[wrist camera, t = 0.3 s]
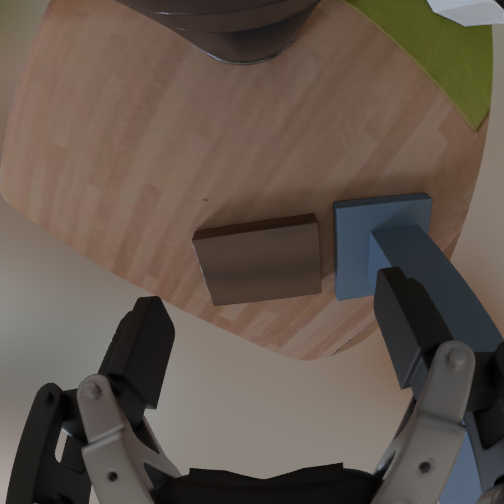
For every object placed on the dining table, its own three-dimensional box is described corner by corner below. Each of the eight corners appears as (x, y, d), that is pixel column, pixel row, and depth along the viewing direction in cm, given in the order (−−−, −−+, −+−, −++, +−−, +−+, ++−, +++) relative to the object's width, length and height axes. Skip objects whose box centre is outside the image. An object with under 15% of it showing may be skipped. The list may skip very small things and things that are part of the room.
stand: (333, 202, 27) (454, 563, 2) (425, 192, 26) (598, 440, 1) (335, 292, 33) (384, 550, 8) (413, 278, 32) (501, 495, 7)
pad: (195, 231, 29) (191, 240, 28) (314, 213, 28) (318, 222, 26) (215, 294, 34) (213, 306, 32) (318, 282, 33) (321, 293, 31)
